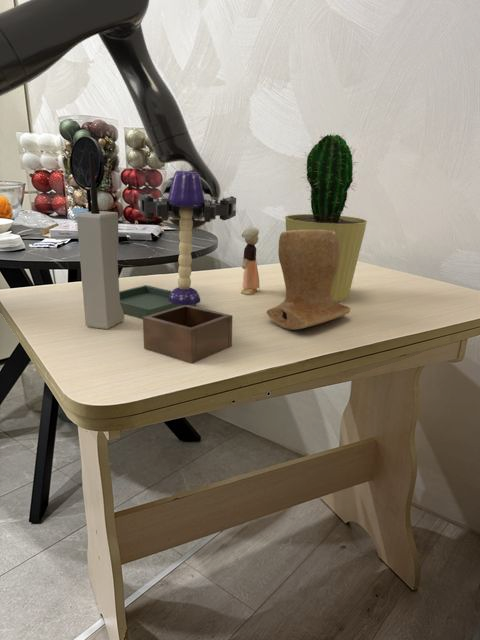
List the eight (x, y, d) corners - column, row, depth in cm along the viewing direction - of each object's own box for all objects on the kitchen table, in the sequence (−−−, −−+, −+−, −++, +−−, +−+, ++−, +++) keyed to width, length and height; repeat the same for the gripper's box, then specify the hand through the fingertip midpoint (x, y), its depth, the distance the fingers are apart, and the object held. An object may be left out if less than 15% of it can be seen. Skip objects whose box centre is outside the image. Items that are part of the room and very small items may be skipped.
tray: (97, 306, 89) (97, 296, 89) (146, 294, 98) (145, 284, 98) (149, 320, 83) (149, 309, 82) (196, 306, 92) (196, 296, 91)
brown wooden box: (143, 348, 71) (142, 317, 70) (185, 333, 78) (185, 304, 76) (191, 363, 67) (191, 330, 65) (232, 345, 74) (232, 315, 72)
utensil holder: (124, 320, 82) (115, 152, 74) (107, 330, 78) (95, 151, 69) (103, 318, 83) (91, 151, 74) (85, 327, 79) (70, 150, 70)
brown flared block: (302, 304, 96) (308, 221, 90) (358, 318, 88) (368, 229, 83) (246, 321, 85) (249, 227, 80) (305, 338, 78) (312, 236, 72)
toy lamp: (204, 297, 72) (205, 171, 67) (203, 307, 68) (204, 172, 62) (170, 296, 72) (167, 169, 66) (166, 306, 68) (163, 171, 62)
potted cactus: (325, 282, 113) (337, 133, 103) (375, 299, 101) (395, 132, 90) (265, 289, 105) (272, 128, 95) (312, 309, 93) (326, 127, 83)
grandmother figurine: (258, 296, 100) (261, 229, 96) (238, 295, 100) (240, 228, 96) (259, 287, 107) (262, 224, 103) (241, 286, 107) (242, 223, 103)
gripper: (140, 171, 77) (124, 177, 61) (236, 176, 79) (245, 182, 63) (141, 223, 80) (127, 241, 64) (235, 226, 81) (243, 245, 65)
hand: (186, 212), depth 63 cm, fingers closed on toy lamp, 4 cm apart
